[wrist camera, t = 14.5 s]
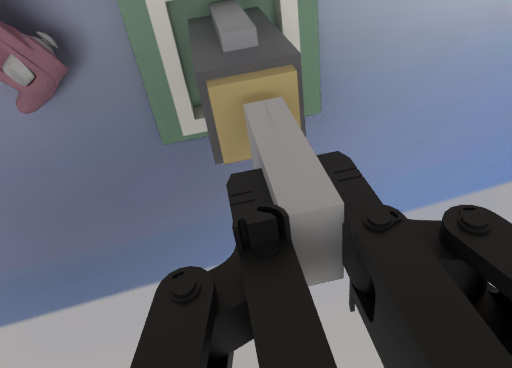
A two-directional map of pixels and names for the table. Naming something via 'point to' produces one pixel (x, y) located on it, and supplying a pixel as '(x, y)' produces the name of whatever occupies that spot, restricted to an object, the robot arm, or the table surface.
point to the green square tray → (181, 63)
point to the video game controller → (29, 67)
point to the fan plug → (241, 73)
